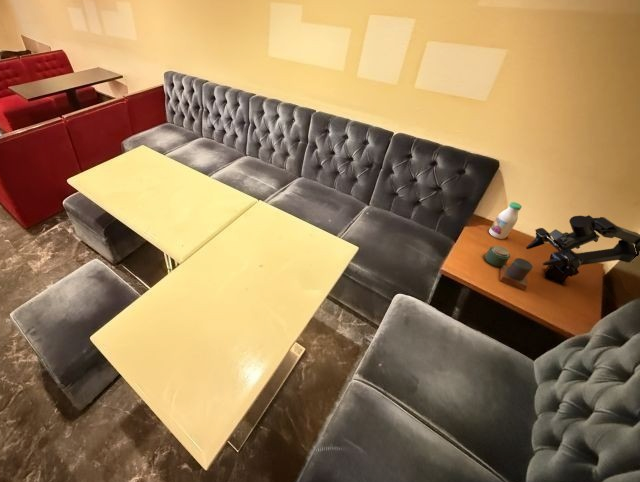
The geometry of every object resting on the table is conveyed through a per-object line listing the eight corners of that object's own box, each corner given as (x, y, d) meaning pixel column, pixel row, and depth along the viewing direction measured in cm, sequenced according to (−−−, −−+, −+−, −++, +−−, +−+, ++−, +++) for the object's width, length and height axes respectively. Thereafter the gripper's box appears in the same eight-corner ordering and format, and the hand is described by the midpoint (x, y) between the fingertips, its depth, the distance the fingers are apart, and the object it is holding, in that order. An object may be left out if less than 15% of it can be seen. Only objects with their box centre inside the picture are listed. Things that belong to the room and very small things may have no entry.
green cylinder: (504, 259, 151) (512, 248, 146) (504, 270, 145) (512, 259, 141) (484, 252, 155) (491, 241, 150) (483, 262, 149) (490, 251, 145)
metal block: (523, 277, 142) (526, 273, 140) (523, 290, 136) (527, 285, 135) (500, 268, 146) (503, 264, 144) (499, 280, 140) (503, 276, 139)
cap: (523, 273, 140) (532, 262, 136) (523, 282, 136) (533, 271, 132) (506, 267, 143) (514, 255, 139) (506, 276, 139) (514, 264, 135)
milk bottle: (502, 230, 168) (521, 201, 156) (508, 240, 161) (529, 210, 150) (486, 228, 169) (504, 198, 158) (491, 237, 163) (510, 207, 152)
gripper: (553, 213, 133) (513, 231, 139) (594, 244, 117) (547, 263, 123) (559, 227, 137) (520, 244, 143) (599, 259, 122) (554, 277, 128)
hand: (534, 256), depth 134 cm, fingers open, 9 cm apart
